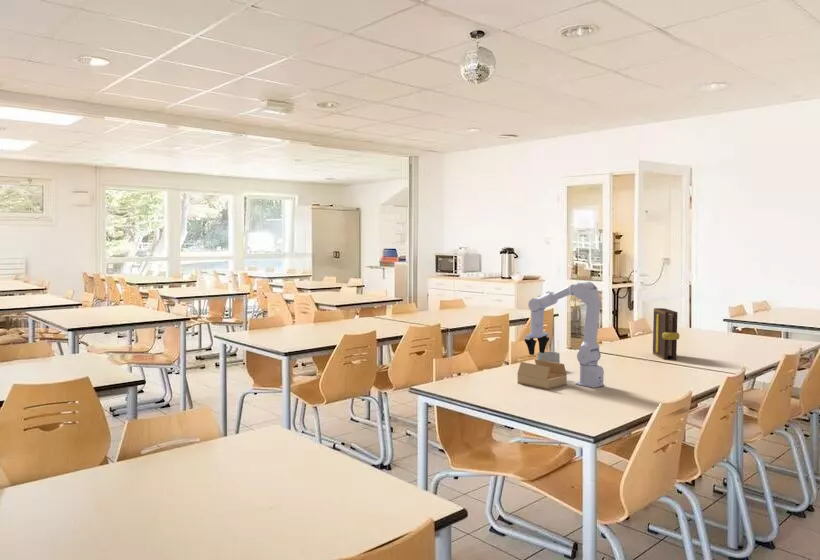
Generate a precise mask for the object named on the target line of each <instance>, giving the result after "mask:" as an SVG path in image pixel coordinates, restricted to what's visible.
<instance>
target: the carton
mask: <svg viewBox="0 0 820 560" xmlns="http://www.w3.org/2000/svg"><path fill="white" fill-rule="evenodd" d="M567 380H568V376H567V375H561V374H556V373H551V372H549V374H548V378H547V380H544V379H539V378H534V377H529V376H524V375H519V374H517V384H520V385H524V386H529V387H532V388H538V389H541V390H542V389H543V390H548V391H549V390H552V389H556V388H560V387H564V386H568V385H567V383H568V382H567Z"/></svg>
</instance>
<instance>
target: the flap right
mask: <svg viewBox="0 0 820 560" xmlns="http://www.w3.org/2000/svg"><path fill="white" fill-rule="evenodd" d="M534 363H535V365H541V366H546V367H550V371H549V372H550V373H555V374H561V375H566V376H567V371H566V367H565V363H555V362H549V361H543V360H538V359H537V358H534Z"/></svg>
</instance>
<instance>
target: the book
mask: <svg viewBox="0 0 820 560" xmlns="http://www.w3.org/2000/svg"><path fill="white" fill-rule="evenodd" d="M652 324H653V327H652V328H653V329H652V331H653V333H652V354H653V355H654V356H656V357H658V358H660V359H662V360H664V361H667V360H669V359H670V360H673V361H677V347H678V346H677V343H678V341H677V340H679V339H680V334H679V332H678V311H674V310H671V309H668V308H661V307H660V308H659V307H655V308H653V323H652Z"/></svg>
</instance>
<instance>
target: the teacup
mask: <svg viewBox="0 0 820 560" xmlns="http://www.w3.org/2000/svg"><path fill="white" fill-rule="evenodd" d="M536 356H537V357H536V359H538V360H543V361H549V362H555V363H560V362H561V361H560V360H561V359H560V358H561V357H560V352H558V351H553V350H551V351H544V353H540V351H539V352H537V353H536Z"/></svg>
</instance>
